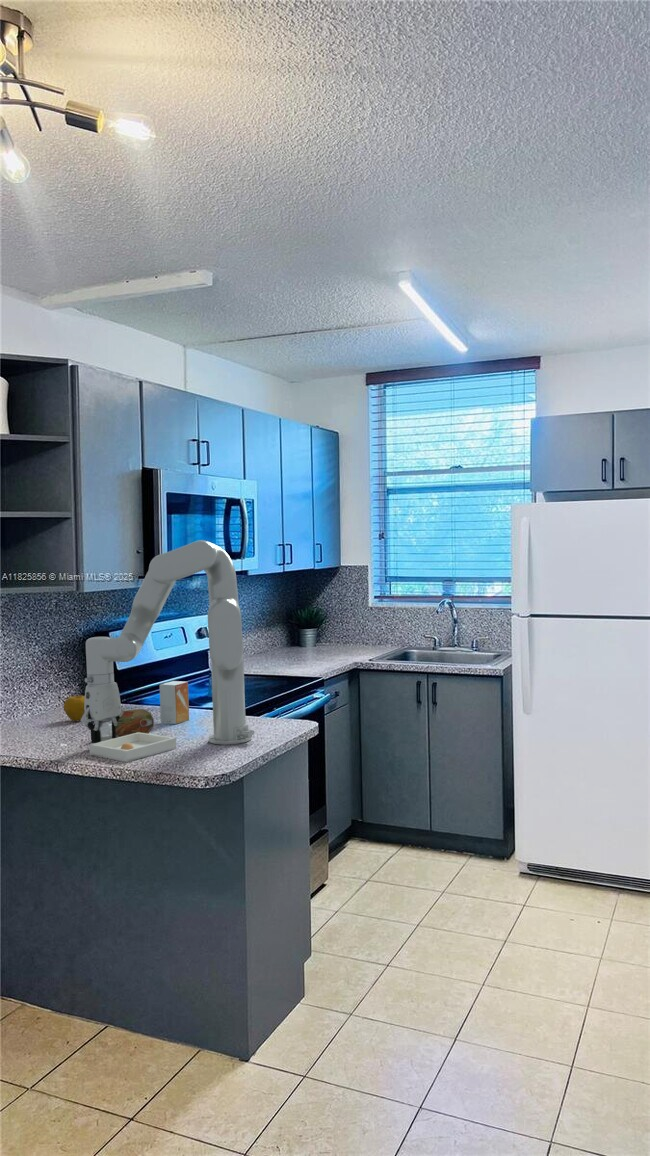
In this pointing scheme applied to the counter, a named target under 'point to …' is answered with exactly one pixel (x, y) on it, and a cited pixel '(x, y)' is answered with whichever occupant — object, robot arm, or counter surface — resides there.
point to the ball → (127, 746)
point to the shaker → (105, 729)
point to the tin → (134, 722)
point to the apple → (74, 707)
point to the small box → (174, 702)
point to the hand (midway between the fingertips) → (103, 740)
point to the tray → (141, 743)
